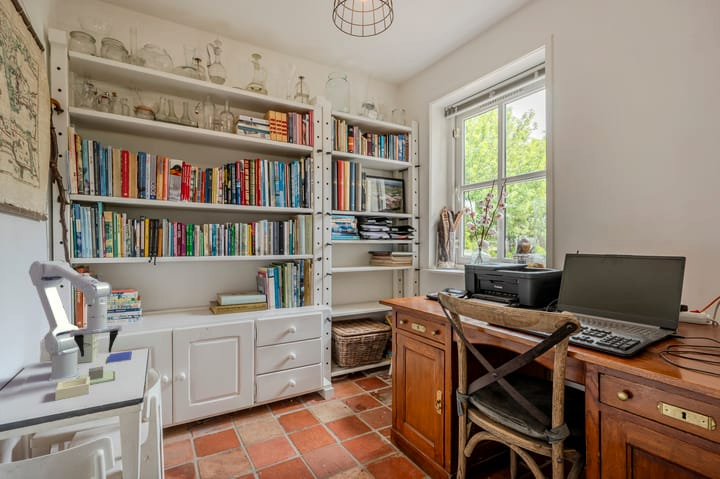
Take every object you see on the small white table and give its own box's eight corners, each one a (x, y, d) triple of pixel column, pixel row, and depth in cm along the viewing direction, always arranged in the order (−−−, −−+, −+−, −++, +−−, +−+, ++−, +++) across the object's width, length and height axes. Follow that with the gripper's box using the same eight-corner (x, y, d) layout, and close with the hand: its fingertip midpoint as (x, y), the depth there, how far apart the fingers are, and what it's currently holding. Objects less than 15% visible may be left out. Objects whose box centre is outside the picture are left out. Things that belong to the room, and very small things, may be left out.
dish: (58, 392, 110) (58, 382, 110) (89, 386, 115) (90, 376, 115) (55, 401, 103) (55, 390, 103) (88, 394, 108) (88, 384, 108)
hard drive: (109, 354, 147) (106, 362, 137) (132, 350, 151) (130, 358, 141) (109, 357, 147) (106, 366, 136) (132, 354, 151) (130, 362, 141)
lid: (78, 378, 121) (79, 368, 121) (113, 371, 127) (113, 362, 127) (76, 387, 113) (76, 376, 113) (113, 380, 119) (113, 370, 119)
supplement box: (70, 364, 137) (70, 333, 137) (77, 359, 143) (77, 329, 144) (92, 362, 140) (93, 331, 140) (98, 356, 146) (98, 327, 147)
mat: (77, 379, 121) (77, 377, 121) (114, 372, 128) (114, 371, 128) (74, 389, 113) (74, 388, 113) (115, 381, 119) (115, 380, 119)
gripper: (69, 320, 113) (68, 361, 113) (122, 315, 122) (121, 352, 122) (71, 317, 119) (70, 355, 119) (121, 312, 128) (120, 348, 127)
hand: (96, 353), depth 120 cm, fingers open, 7 cm apart
